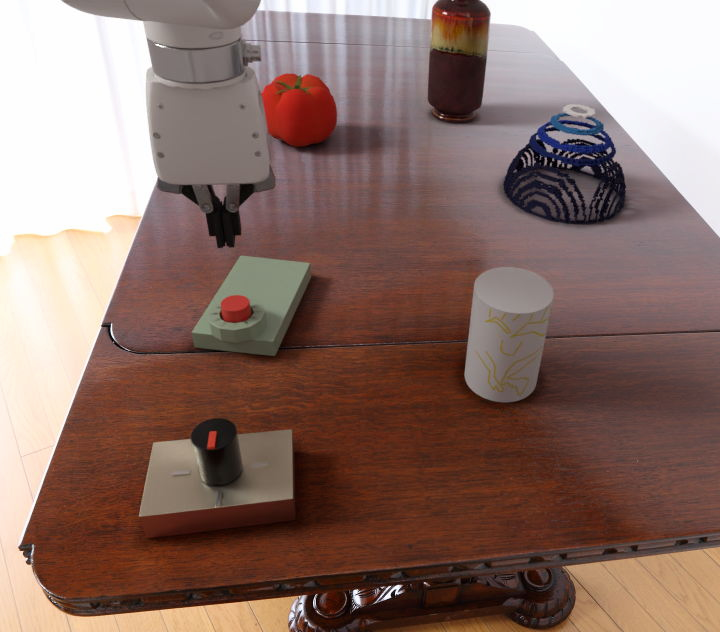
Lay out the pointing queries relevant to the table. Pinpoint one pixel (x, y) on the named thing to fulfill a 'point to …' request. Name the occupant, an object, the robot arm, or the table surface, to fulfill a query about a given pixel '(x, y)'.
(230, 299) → the button
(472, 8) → the vase
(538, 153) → the decorative bowl
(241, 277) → the switch box
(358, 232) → the table surface
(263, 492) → the panel
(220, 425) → the hob knob
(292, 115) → the tomato
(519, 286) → the white patterned cylinder
